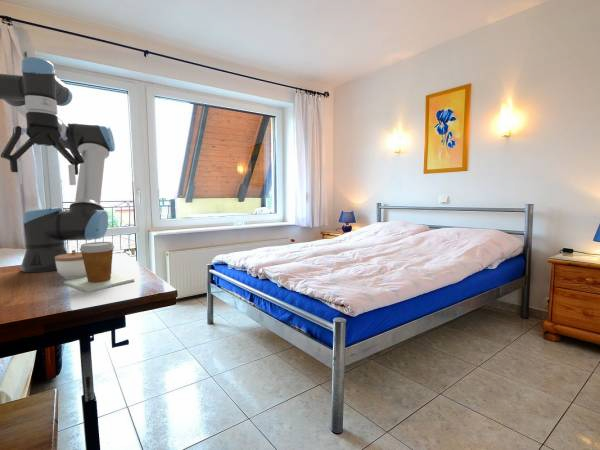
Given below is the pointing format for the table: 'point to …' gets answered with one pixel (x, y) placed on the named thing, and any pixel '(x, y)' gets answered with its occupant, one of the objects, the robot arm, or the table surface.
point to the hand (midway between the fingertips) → (47, 184)
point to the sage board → (98, 283)
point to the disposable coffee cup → (97, 260)
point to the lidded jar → (70, 265)
